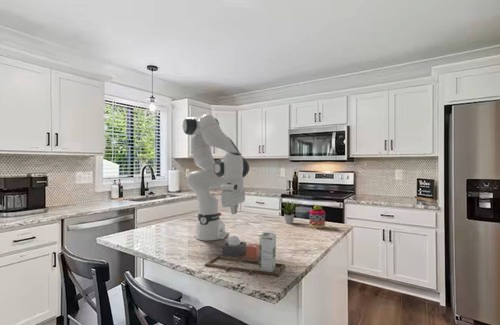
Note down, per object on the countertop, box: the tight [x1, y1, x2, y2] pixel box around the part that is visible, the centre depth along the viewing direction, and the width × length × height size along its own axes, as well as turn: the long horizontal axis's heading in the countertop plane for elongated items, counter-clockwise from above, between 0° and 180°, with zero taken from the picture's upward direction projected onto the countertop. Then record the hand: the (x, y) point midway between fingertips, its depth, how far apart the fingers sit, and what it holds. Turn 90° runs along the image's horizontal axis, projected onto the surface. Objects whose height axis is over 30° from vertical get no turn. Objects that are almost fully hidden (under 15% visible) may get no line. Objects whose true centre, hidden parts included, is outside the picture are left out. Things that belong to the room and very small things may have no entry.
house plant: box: [280, 200, 300, 225], centre depth 200 cm, size 14×14×16 cm
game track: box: [204, 255, 286, 278], centre depth 119 cm, size 15×32×1 cm, turn 70°
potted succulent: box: [308, 205, 326, 229], centre depth 189 cm, size 10×11×15 cm
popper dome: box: [227, 235, 241, 247], centre depth 136 cm, size 6×6×5 cm
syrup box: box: [258, 232, 277, 272], centre depth 115 cm, size 6×6×14 cm
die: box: [245, 243, 259, 259], centre depth 132 cm, size 5×5×6 cm
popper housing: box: [221, 241, 247, 258], centre depth 136 cm, size 9×9×4 cm
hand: (234, 213), depth 136 cm, fingers closed
